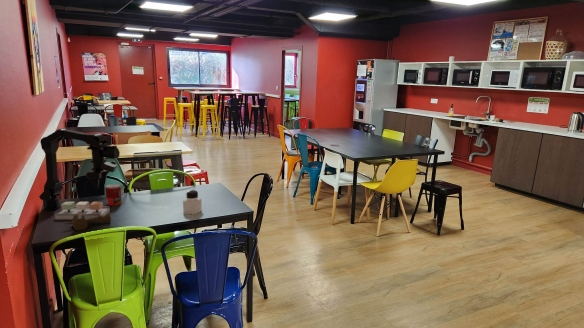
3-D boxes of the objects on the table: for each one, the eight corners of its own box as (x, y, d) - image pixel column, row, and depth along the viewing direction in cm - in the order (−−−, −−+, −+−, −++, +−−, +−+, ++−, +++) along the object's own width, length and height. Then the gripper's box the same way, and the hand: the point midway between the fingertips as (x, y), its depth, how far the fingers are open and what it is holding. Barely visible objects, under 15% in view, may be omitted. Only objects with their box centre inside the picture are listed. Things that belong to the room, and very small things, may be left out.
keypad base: (55, 219, 191) (54, 212, 190) (67, 211, 202) (66, 204, 201) (100, 219, 192) (99, 212, 192) (109, 211, 204) (109, 204, 203)
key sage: (61, 209, 193) (61, 204, 193) (66, 206, 198) (65, 201, 197) (71, 209, 194) (70, 204, 193) (75, 206, 198) (74, 201, 198)
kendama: (112, 226, 186) (65, 233, 175) (109, 220, 194) (64, 226, 183) (112, 214, 185) (64, 220, 174) (109, 209, 192) (63, 214, 182)
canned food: (116, 206, 211) (114, 187, 209) (103, 205, 213) (102, 186, 210) (124, 202, 218) (123, 184, 216) (112, 201, 220) (111, 183, 218)
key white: (76, 209, 194) (75, 204, 193) (80, 206, 199) (79, 201, 198) (85, 209, 194) (84, 204, 194) (89, 206, 199) (88, 201, 198)
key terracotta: (90, 209, 195) (89, 204, 194) (94, 206, 199) (93, 201, 198) (99, 209, 195) (99, 204, 194) (103, 206, 199) (102, 201, 199)
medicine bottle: (201, 211, 209) (201, 190, 206) (194, 215, 202) (193, 193, 200) (190, 209, 211) (190, 188, 209) (183, 213, 205) (182, 192, 202)
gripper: (107, 161, 189) (110, 191, 193) (120, 154, 207) (122, 181, 211) (84, 161, 188) (87, 191, 191) (99, 154, 206) (101, 181, 210)
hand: (100, 186), depth 201 cm, fingers open, 9 cm apart
